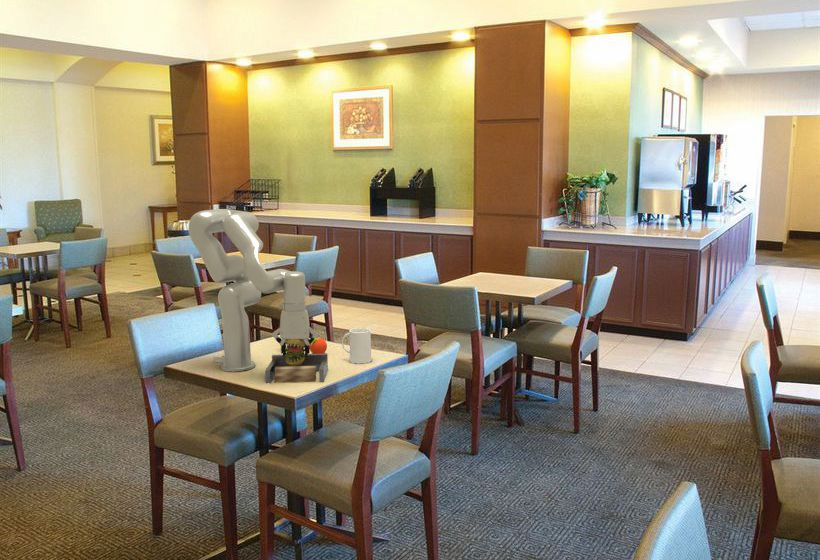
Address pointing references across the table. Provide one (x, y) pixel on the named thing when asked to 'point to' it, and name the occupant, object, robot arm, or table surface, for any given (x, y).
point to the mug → (359, 345)
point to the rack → (310, 360)
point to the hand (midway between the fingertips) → (295, 355)
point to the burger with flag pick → (295, 351)
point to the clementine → (318, 346)
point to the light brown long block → (295, 374)
